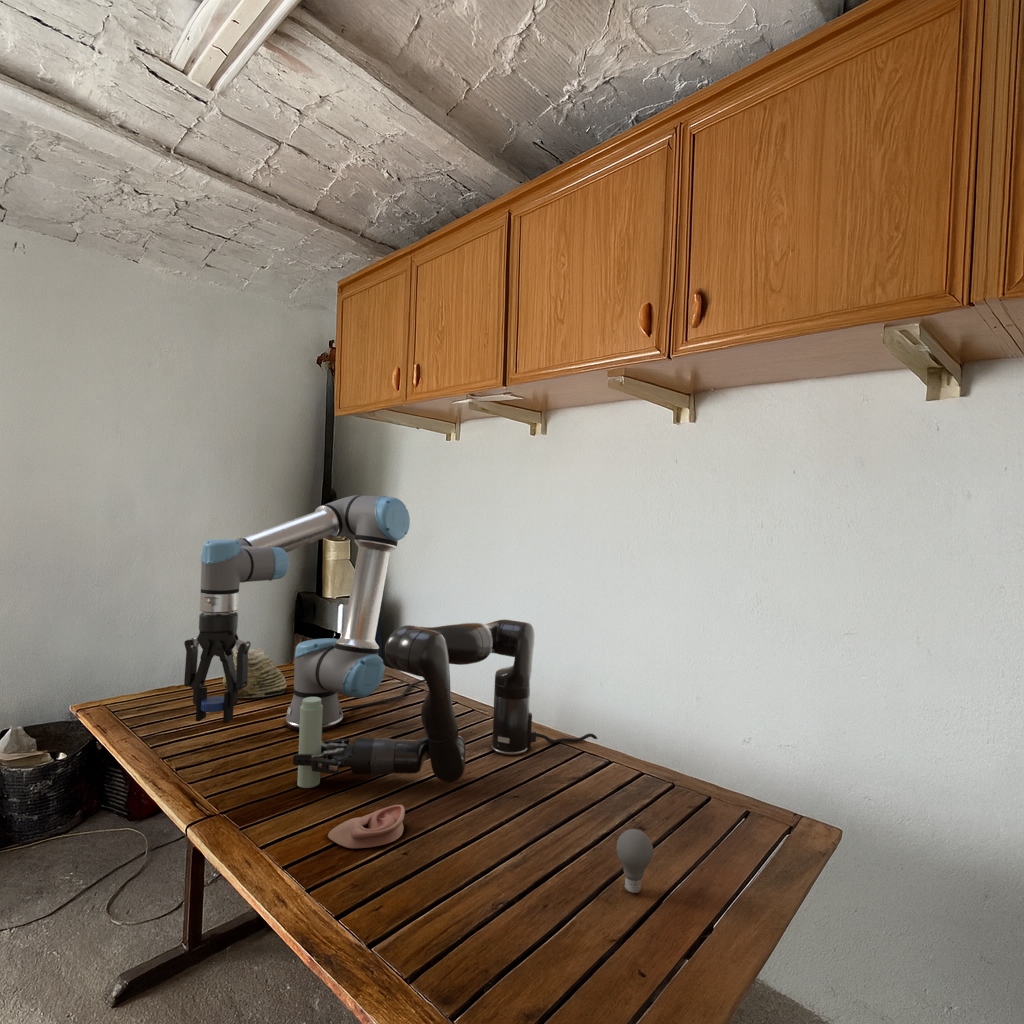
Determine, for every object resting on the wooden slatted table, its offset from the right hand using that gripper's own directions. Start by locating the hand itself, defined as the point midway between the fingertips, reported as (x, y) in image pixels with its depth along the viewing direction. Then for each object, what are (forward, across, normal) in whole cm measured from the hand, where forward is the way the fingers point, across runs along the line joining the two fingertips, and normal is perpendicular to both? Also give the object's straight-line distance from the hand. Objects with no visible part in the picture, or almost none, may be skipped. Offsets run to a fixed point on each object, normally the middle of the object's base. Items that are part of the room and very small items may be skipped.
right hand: (297, 754), depth 139 cm
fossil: (+29, -60, +6) cm, 67 cm away
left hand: (+17, +3, -8) cm, 19 cm away
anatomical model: (-19, +21, +6) cm, 29 cm away
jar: (-3, 0, +6) cm, 7 cm away
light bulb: (-65, +38, +6) cm, 76 cm away
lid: (+17, +3, -12) cm, 21 cm away
